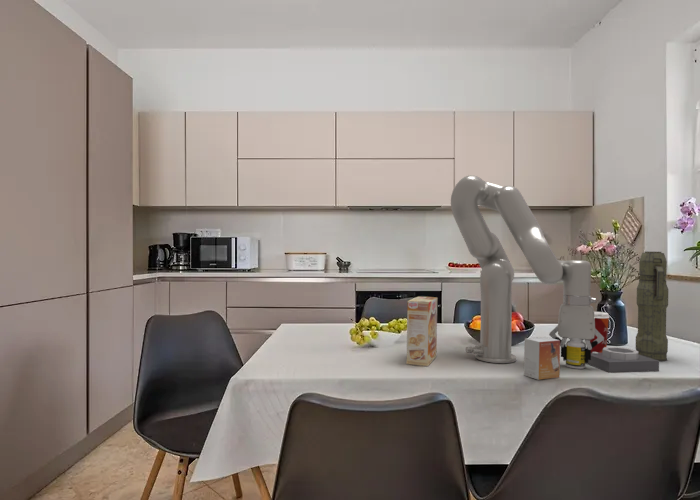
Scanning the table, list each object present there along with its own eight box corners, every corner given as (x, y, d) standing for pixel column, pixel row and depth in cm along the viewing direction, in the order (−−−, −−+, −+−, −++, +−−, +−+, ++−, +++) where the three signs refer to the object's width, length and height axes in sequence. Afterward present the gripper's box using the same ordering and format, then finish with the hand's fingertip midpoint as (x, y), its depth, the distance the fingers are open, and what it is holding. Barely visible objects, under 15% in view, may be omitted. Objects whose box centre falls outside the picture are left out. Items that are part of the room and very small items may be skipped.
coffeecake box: (428, 366, 145) (429, 301, 145) (405, 364, 148) (406, 300, 148) (437, 356, 159) (438, 296, 159) (416, 354, 162) (416, 295, 162)
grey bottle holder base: (609, 372, 141) (609, 355, 141) (583, 362, 153) (583, 346, 153) (658, 371, 143) (659, 354, 143) (630, 361, 155) (630, 345, 155)
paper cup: (612, 357, 161) (613, 314, 160) (587, 355, 162) (588, 313, 162) (605, 352, 168) (605, 311, 168) (581, 350, 170) (581, 310, 170)
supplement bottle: (583, 370, 143) (583, 337, 143) (563, 367, 146) (564, 334, 146) (587, 366, 147) (587, 334, 147) (568, 363, 151) (568, 332, 151)
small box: (538, 380, 132) (538, 341, 131) (523, 375, 137) (523, 338, 137) (560, 377, 135) (560, 339, 135) (544, 372, 140) (545, 336, 140)
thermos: (647, 362, 153) (649, 251, 153) (628, 354, 165) (629, 251, 165) (676, 363, 153) (678, 252, 153) (654, 354, 165) (656, 251, 165)
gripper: (608, 301, 146) (607, 361, 146) (547, 298, 154) (546, 355, 154) (608, 304, 139) (608, 367, 140) (544, 300, 147) (544, 360, 147)
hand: (575, 360), depth 147 cm, fingers closed on supplement bottle, 5 cm apart
